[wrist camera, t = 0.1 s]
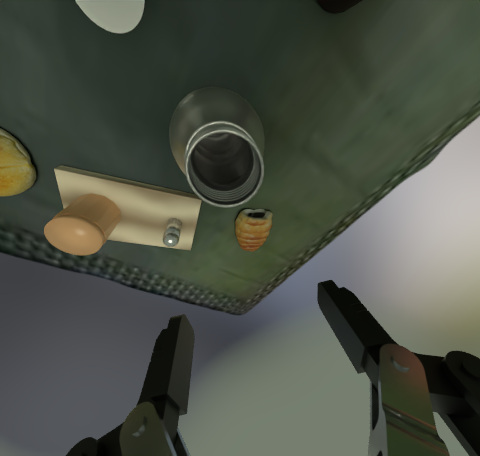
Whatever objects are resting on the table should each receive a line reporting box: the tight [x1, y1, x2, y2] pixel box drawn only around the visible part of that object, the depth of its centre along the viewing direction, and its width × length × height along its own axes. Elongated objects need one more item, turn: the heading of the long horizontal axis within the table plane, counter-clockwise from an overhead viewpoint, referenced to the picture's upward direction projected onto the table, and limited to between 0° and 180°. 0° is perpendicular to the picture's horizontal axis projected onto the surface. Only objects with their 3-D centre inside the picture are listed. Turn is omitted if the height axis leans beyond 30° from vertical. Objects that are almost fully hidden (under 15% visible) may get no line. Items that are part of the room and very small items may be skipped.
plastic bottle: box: [169, 87, 265, 208], centre depth 16 cm, size 6×7×20 cm
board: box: [54, 165, 202, 250], centre depth 30 cm, size 11×19×2 cm, turn 72°
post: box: [162, 218, 182, 247], centre depth 29 cm, size 2×2×5 cm
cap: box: [44, 193, 121, 255], centre depth 25 cm, size 6×6×6 cm
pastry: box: [235, 209, 272, 251], centre depth 34 cm, size 9×7×4 cm
